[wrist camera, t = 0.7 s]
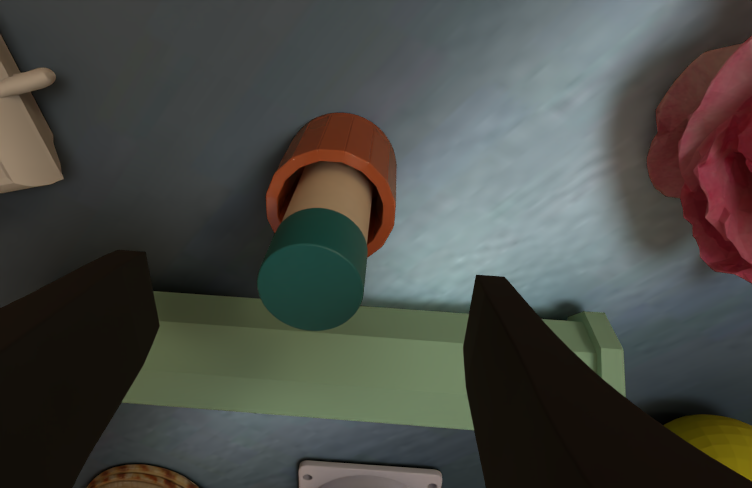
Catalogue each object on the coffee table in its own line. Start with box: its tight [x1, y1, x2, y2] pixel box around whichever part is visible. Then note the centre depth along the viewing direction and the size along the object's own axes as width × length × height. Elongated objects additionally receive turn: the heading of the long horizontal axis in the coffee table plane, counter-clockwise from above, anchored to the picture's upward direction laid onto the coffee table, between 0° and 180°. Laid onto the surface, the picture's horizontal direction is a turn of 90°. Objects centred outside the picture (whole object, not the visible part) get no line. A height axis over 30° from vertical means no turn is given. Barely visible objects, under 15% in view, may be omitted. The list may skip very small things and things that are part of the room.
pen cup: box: [266, 113, 397, 258], centre depth 19 cm, size 4×4×4 cm
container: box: [30, 291, 626, 430], centre depth 23 cm, size 6×6×25 cm
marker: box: [257, 161, 374, 331], centre depth 17 cm, size 3×3×8 cm
